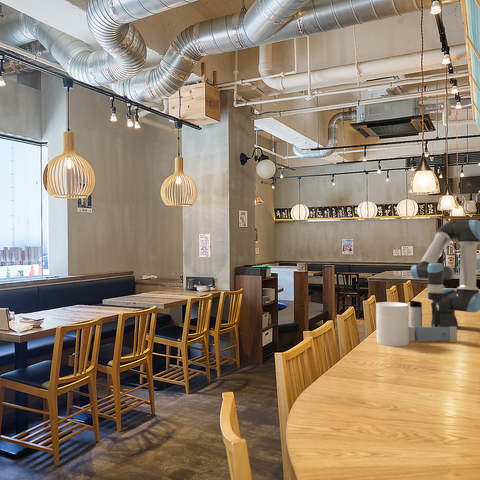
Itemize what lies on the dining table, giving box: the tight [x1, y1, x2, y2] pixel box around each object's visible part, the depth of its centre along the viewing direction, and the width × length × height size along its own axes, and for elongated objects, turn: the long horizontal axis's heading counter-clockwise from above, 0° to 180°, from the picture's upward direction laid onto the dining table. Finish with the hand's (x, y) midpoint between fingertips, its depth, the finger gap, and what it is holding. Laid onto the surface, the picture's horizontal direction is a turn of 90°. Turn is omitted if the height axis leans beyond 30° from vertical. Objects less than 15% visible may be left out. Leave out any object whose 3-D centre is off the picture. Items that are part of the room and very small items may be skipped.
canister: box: [375, 301, 410, 347], centre depth 231 cm, size 16×16×20 cm
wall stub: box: [448, 327, 458, 343], centre depth 232 cm, size 4×2×8 cm, turn 85°
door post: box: [409, 325, 415, 343], centre depth 234 cm, size 3×3×8 cm
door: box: [414, 326, 450, 342], centre depth 232 cm, size 17×3×7 cm, turn 85°
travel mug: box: [408, 300, 423, 327], centre depth 243 cm, size 6×7×20 cm
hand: (436, 336), depth 237 cm, fingers closed
